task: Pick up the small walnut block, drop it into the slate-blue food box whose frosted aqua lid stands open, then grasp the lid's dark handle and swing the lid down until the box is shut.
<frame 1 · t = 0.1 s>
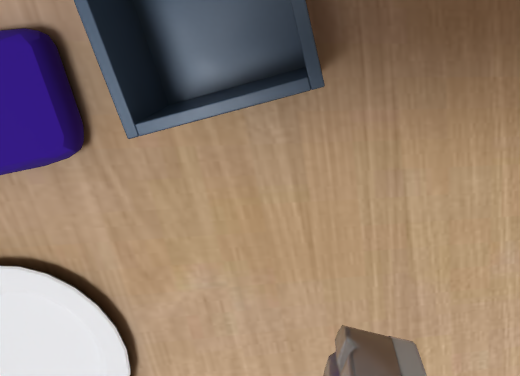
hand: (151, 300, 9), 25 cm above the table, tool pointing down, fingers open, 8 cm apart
plate: (40, 343, 44), on the table
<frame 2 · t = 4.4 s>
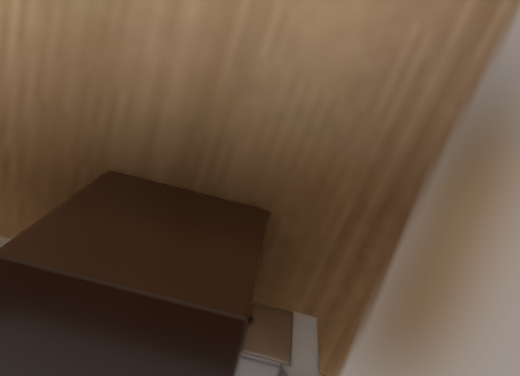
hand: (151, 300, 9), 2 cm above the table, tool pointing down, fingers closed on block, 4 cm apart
block: (176, 260, 11), on the table, touching gripper
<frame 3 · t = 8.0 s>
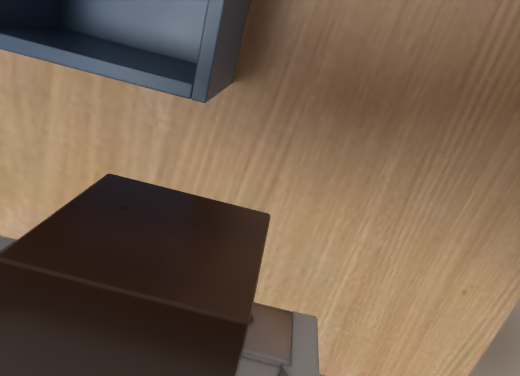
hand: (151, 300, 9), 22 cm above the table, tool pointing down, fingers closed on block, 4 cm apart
block: (177, 263, 11), point 20 cm above the table, touching gripper
when the fingers open (11 cm above the table, at t = 11.8 s): block drops 9 cm, resting on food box.
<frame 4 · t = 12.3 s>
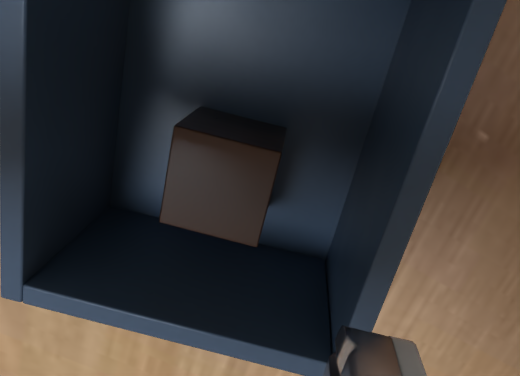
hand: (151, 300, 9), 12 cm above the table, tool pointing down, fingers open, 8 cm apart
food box: (249, 90, 19), on the table
block: (234, 158, 19), point 1 cm above the table, touching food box
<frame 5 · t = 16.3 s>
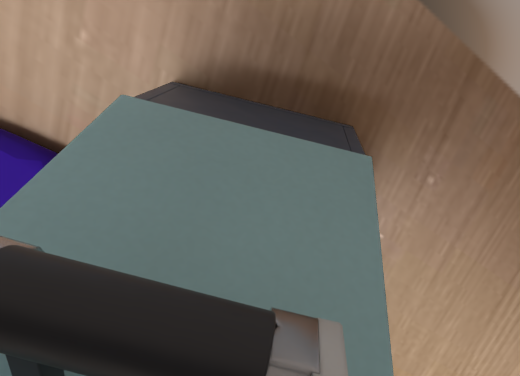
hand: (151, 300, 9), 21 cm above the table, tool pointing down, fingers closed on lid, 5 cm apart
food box: (238, 206, 31), on the table
lid: (204, 200, 13), point 17 cm above the table, hinge at 75.0°, touching gripper
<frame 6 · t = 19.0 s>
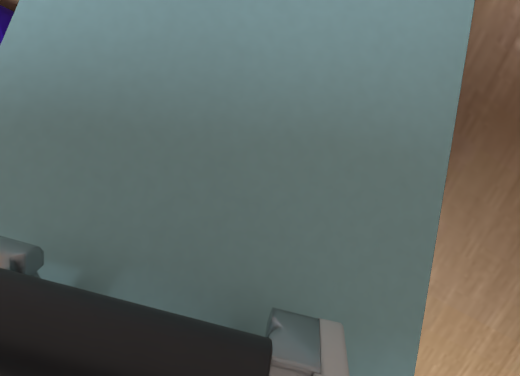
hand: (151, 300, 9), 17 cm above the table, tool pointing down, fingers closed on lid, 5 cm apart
lid: (213, 90, 10), point 14 cm above the table, hinge at 33.7°, touching gripper
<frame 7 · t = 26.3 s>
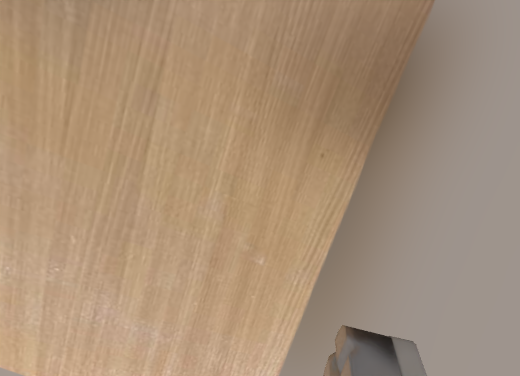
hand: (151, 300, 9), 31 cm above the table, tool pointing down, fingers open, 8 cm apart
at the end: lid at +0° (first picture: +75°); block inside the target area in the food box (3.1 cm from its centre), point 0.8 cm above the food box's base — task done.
